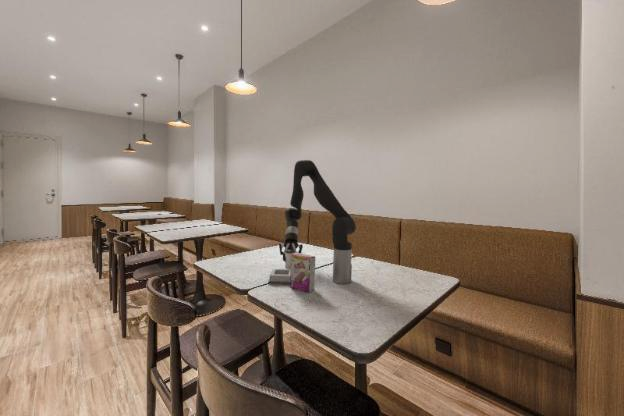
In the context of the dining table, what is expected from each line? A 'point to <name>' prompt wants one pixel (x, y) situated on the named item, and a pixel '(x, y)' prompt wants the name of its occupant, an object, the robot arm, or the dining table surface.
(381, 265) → the dining table surface
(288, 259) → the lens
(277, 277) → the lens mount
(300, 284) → the candy bar box
